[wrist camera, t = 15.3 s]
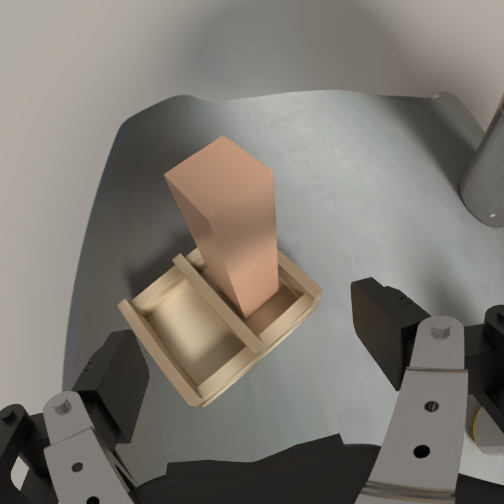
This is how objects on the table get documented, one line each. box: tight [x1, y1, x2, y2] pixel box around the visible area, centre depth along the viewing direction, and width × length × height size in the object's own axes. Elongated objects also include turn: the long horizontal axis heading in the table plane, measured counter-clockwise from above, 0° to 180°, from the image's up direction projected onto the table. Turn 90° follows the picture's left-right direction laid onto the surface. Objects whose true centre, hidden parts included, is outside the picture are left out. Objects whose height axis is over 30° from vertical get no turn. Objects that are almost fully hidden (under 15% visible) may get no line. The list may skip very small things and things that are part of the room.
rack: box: [117, 247, 323, 407], centre depth 28 cm, size 14×11×5 cm
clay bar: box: [164, 136, 279, 319], centre depth 22 cm, size 4×4×16 cm
